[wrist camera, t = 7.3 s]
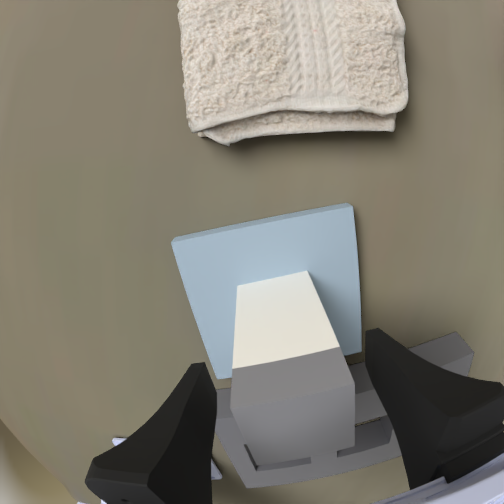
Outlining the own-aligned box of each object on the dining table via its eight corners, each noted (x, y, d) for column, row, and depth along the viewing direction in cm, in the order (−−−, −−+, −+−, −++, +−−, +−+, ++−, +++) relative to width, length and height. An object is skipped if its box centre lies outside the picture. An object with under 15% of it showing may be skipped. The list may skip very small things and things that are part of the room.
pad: (218, 369, 21) (217, 379, 20) (175, 237, 17) (171, 242, 16) (357, 343, 20) (361, 351, 19) (347, 202, 17) (352, 206, 16)
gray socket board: (246, 464, 25) (246, 488, 23) (212, 390, 21) (209, 419, 19) (433, 418, 24) (443, 438, 22) (456, 331, 20) (474, 352, 18)
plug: (252, 341, 19) (256, 465, 10) (237, 285, 17) (230, 408, 9) (316, 328, 18) (354, 446, 10) (307, 270, 17) (354, 383, 9)
